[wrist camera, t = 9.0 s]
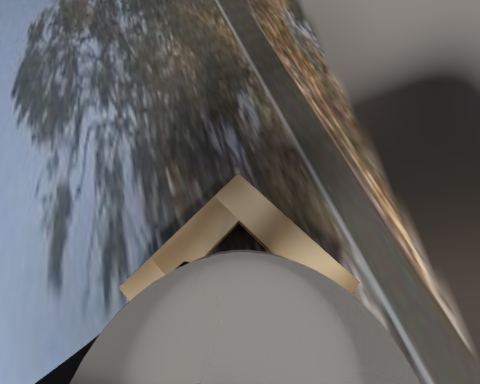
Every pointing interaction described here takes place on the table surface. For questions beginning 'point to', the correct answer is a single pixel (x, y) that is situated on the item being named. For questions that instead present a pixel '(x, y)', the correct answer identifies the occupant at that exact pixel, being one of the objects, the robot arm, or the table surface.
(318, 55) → the table surface
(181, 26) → the table surface
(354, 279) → the bore block
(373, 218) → the table surface
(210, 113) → the table surface
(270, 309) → the piston
